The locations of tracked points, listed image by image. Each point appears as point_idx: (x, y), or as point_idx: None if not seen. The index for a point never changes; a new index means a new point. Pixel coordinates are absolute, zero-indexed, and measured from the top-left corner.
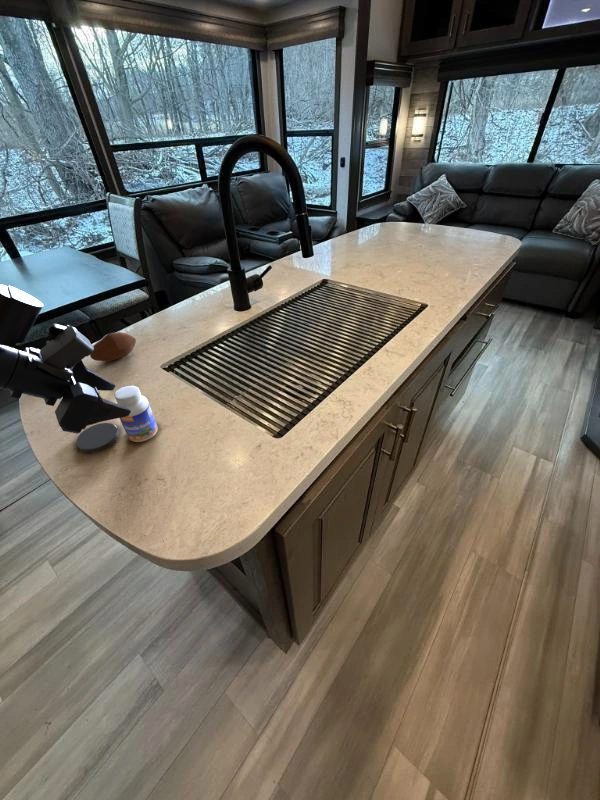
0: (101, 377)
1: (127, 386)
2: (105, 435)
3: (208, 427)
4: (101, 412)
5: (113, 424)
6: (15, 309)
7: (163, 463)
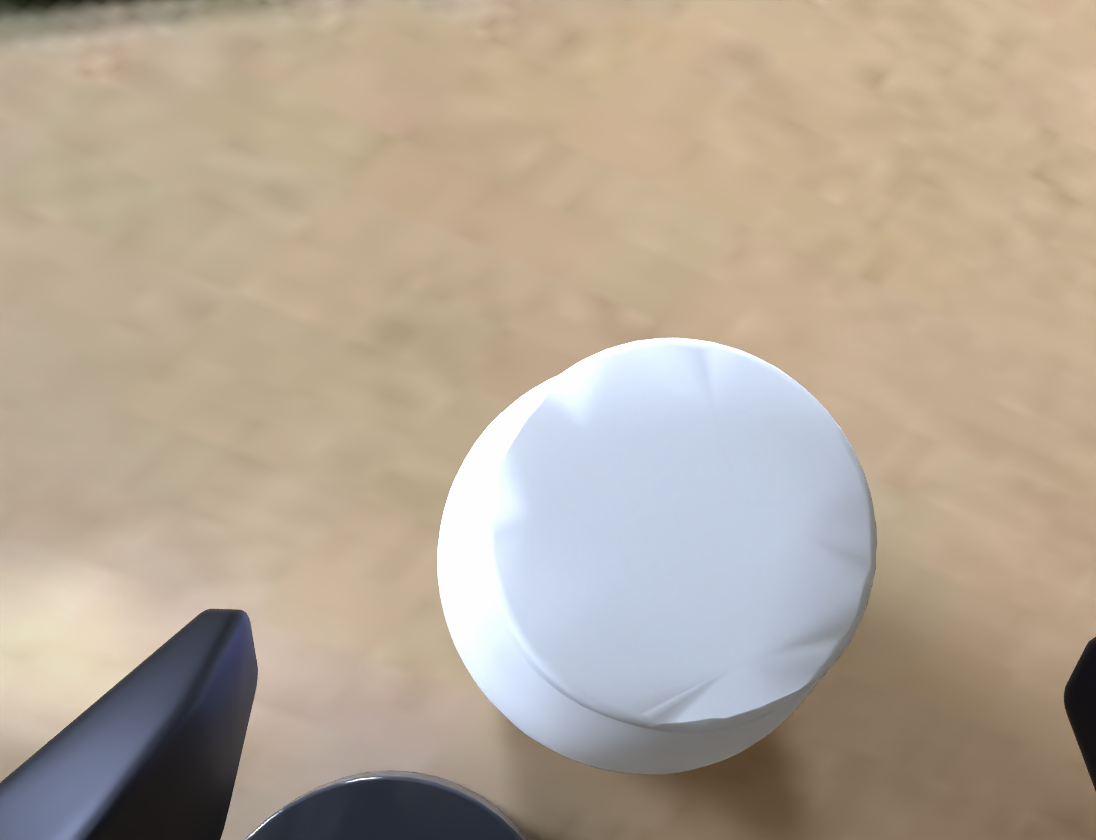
0: (57, 799)
1: (516, 456)
2: None
3: (873, 156)
4: None
5: (321, 790)
6: None
7: (1062, 596)
